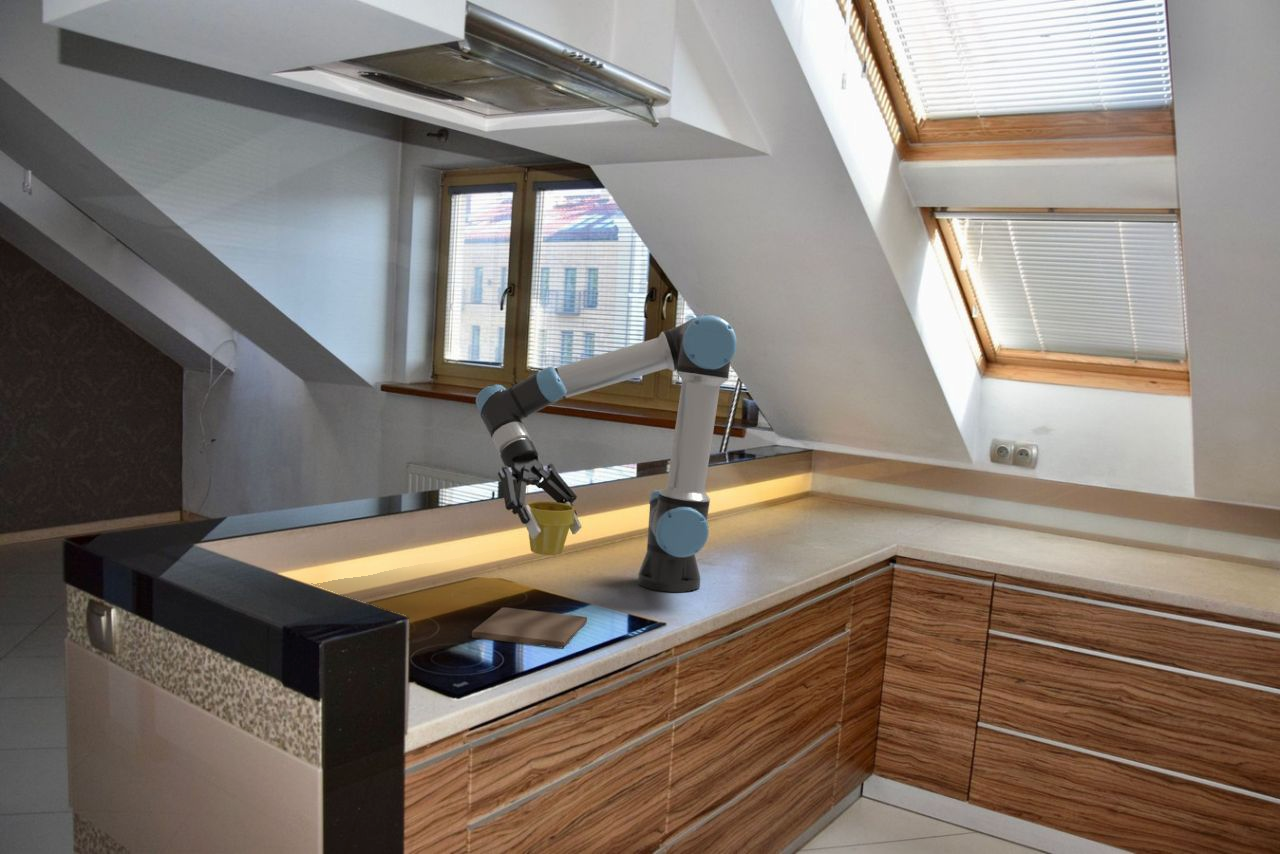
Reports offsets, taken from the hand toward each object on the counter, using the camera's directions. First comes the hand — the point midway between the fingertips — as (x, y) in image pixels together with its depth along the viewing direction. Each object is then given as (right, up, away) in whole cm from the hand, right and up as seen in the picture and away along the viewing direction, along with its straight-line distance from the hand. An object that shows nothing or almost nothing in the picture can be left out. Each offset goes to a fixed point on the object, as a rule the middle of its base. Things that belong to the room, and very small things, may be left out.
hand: (557, 532), depth 198 cm
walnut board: (-4, -18, -10) cm, 21 cm away
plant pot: (-2, -4, +3) cm, 6 cm away
